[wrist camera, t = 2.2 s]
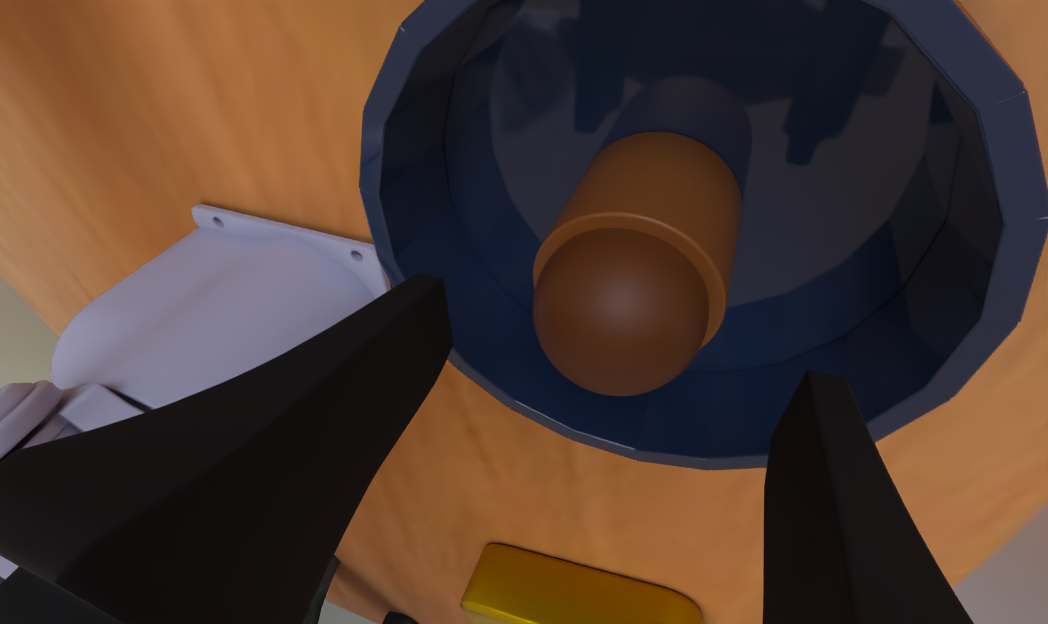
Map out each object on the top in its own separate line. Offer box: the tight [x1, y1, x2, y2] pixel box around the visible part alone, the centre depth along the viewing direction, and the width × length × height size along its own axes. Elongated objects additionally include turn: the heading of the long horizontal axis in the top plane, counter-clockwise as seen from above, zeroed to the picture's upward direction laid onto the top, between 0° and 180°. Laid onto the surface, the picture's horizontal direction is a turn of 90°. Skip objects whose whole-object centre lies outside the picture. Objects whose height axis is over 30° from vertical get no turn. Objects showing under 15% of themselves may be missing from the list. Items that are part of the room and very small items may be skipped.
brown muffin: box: [533, 131, 742, 396], centre depth 13 cm, size 4×4×6 cm
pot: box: [359, 0, 1048, 470], centre depth 14 cm, size 14×14×4 cm
